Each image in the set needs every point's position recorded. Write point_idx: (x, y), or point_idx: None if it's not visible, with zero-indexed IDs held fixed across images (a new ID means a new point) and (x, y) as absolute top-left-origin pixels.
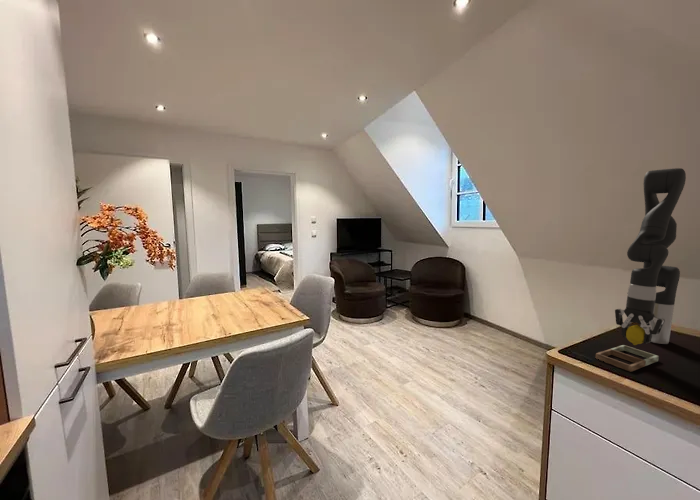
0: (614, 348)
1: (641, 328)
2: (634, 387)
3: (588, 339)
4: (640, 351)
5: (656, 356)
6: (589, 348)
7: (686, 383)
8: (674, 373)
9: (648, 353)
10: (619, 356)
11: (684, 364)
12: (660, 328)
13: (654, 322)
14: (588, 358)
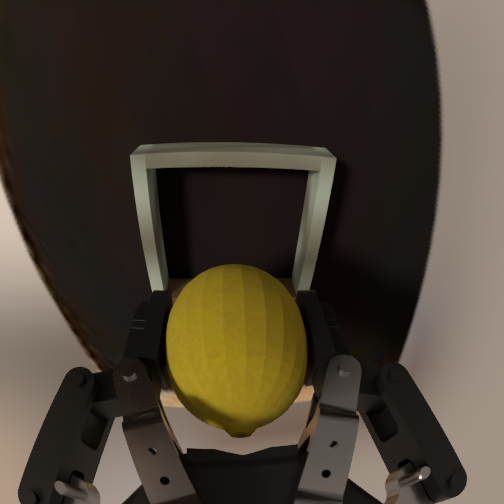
0: (156, 277)
1: (280, 415)
2: (310, 399)
3: (7, 185)
4: (240, 164)
5: (329, 184)
6: (96, 296)
7: (406, 296)
8: (387, 249)
9: (285, 167)
10: None
11: (411, 74)
12: (420, 414)
13: (386, 481)
14: None
